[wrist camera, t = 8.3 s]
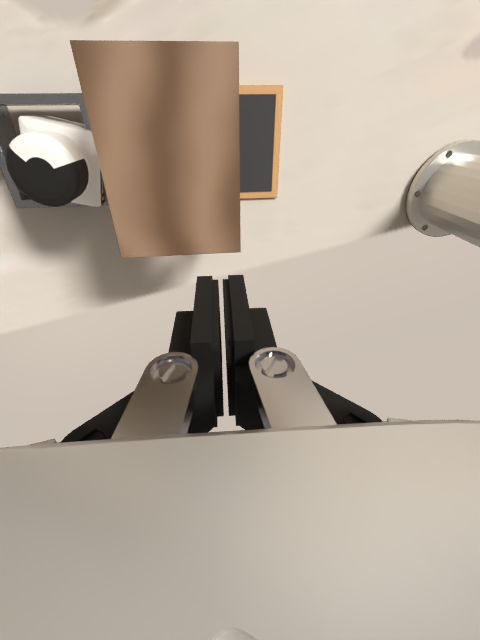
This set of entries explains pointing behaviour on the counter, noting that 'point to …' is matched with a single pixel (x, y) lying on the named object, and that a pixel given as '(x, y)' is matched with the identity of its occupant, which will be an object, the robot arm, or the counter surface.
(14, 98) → the grey metal post stand
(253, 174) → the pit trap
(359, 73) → the counter surface
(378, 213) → the counter surface
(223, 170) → the walnut tunnel
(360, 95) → the counter surface
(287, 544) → the robot arm
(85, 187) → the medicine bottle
